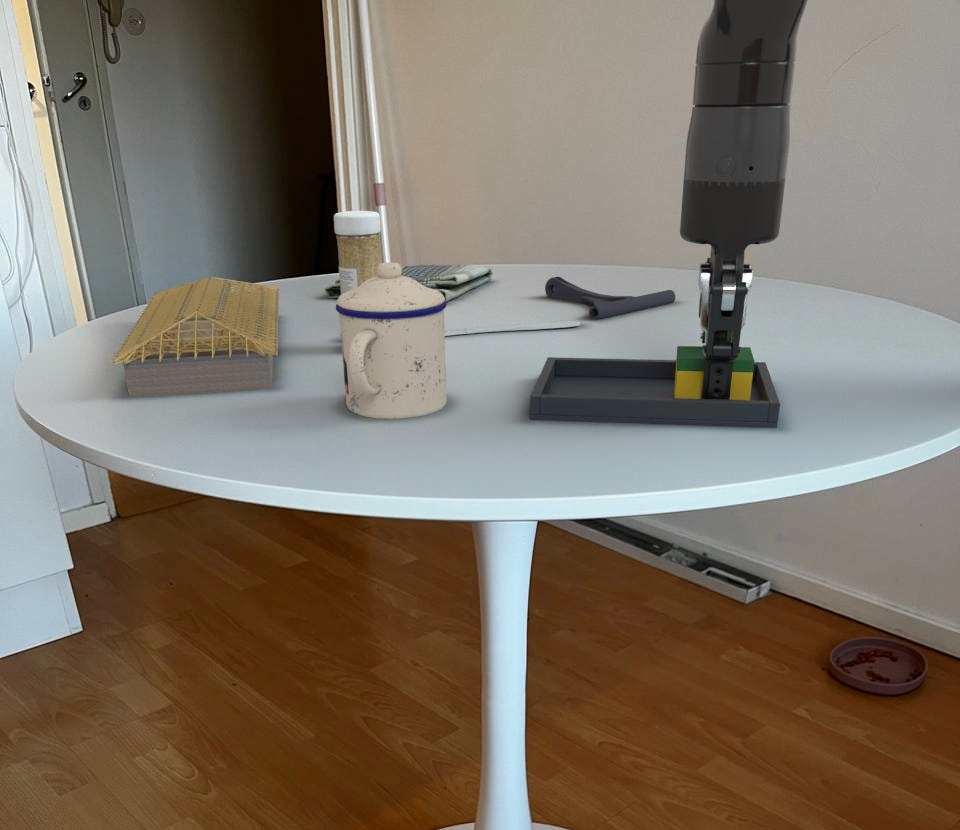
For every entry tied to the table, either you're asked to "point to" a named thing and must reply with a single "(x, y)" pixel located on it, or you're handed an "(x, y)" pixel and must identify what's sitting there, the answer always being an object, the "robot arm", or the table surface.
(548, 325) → the butter knife
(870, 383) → the table surface
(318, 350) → the table surface
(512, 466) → the table surface
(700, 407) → the tray
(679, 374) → the sponge
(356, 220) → the sprinkles bottle
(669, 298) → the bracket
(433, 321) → the teacup with lid
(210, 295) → the rafter model
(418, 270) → the dish towel
